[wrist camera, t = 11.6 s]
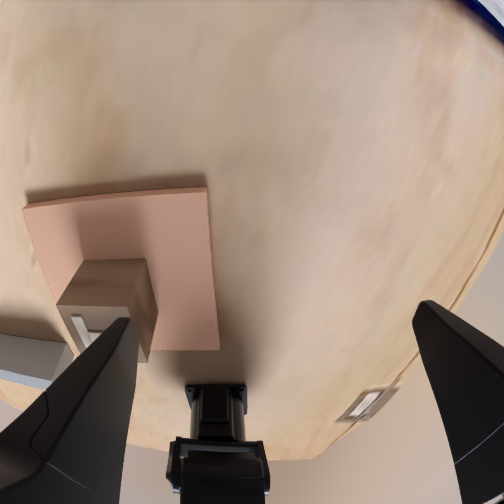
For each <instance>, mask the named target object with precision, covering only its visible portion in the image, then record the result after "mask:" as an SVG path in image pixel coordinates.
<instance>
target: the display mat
mask: <svg viewBox="0 0 504 504" xmlns="http://www.w3.org/2000/svg"><path fill="white" fill-rule="evenodd" d="M22 212H23V216H24V219H25V223H26V226H27V229H28V232H29V236H30V239H31V242H32V245H33V248H34V250H35V253H36V256H37V259H38V262H39V264H40V267H41V270H42V272H43V275H44V277H45V280H46V282H47V285H48V287H49V289H50V292H51V294H52V296H53V299H54V301H55V303H56V304H57V302H58V300H59V299H60V297H61V295H62V294H63V292H64V290H65V289H66V287H67V285H68V284H69V282H70V281H71V279H72V277H73V276H74V274H75V273H76V271H77V270H78V268H79V266H80V265H81V263H82V262H83V260H106V259H136V258H146V261H147V266H148V271H149V275H150V279H151V284H152V288H153V292H154V296H155V300H156V304H157V308H158V312H159V313H158V318H157V322H156V326H155V330H154V335H153V339H152V344H151V348H150V350H220V338H219V328H218V319H217V308H216V297H215V286H214V275H213V262H212V250H211V236H210V221H209V206H208V189H207V187H193V188H174V189H159V190H145V191H133V192H121V193H111V194H101V195H91V196H82V197H74V198H66V199H58V200H50V201H43V202H36V203H30V204H27V205H26V206H25V207H24V208H22Z"/></svg>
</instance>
